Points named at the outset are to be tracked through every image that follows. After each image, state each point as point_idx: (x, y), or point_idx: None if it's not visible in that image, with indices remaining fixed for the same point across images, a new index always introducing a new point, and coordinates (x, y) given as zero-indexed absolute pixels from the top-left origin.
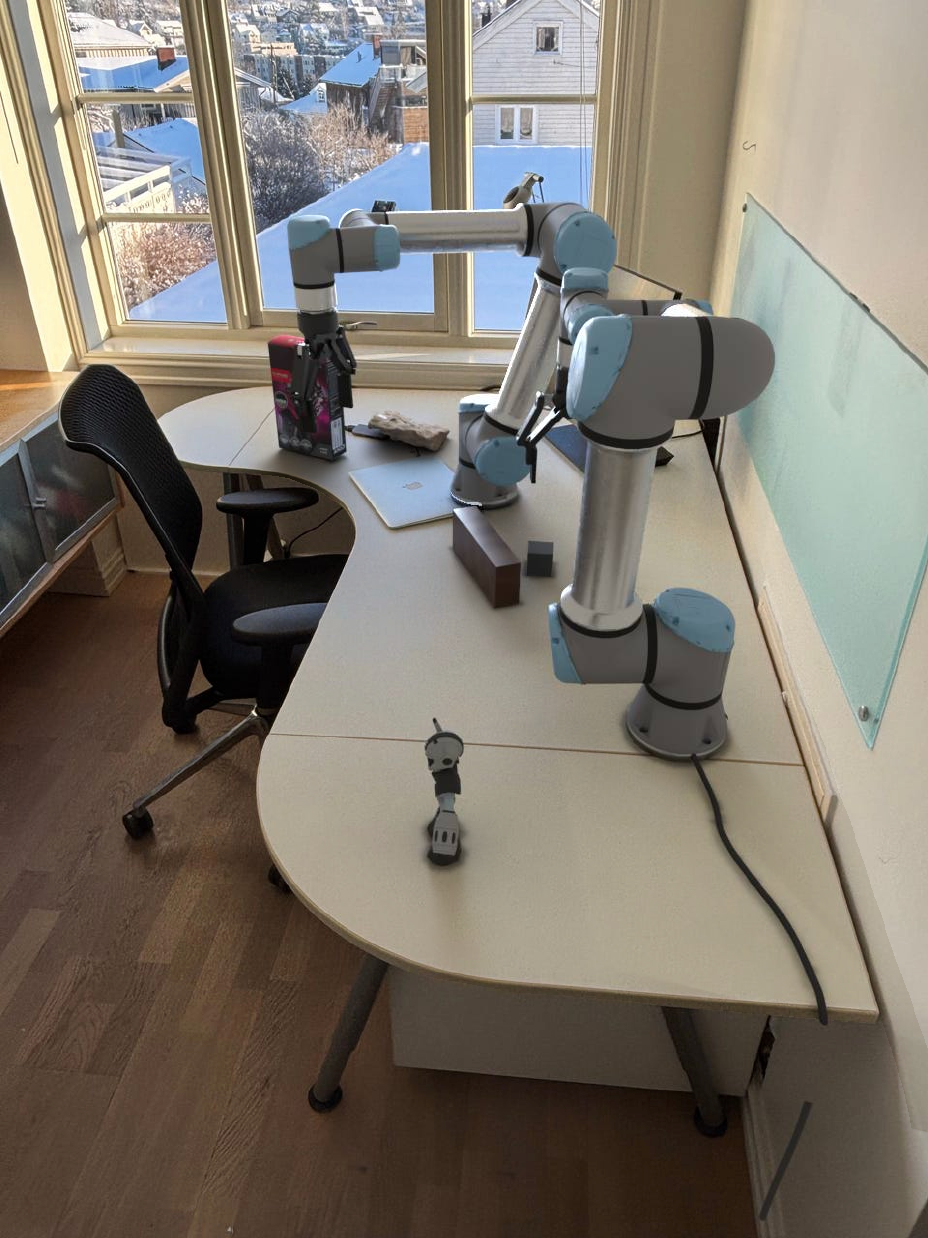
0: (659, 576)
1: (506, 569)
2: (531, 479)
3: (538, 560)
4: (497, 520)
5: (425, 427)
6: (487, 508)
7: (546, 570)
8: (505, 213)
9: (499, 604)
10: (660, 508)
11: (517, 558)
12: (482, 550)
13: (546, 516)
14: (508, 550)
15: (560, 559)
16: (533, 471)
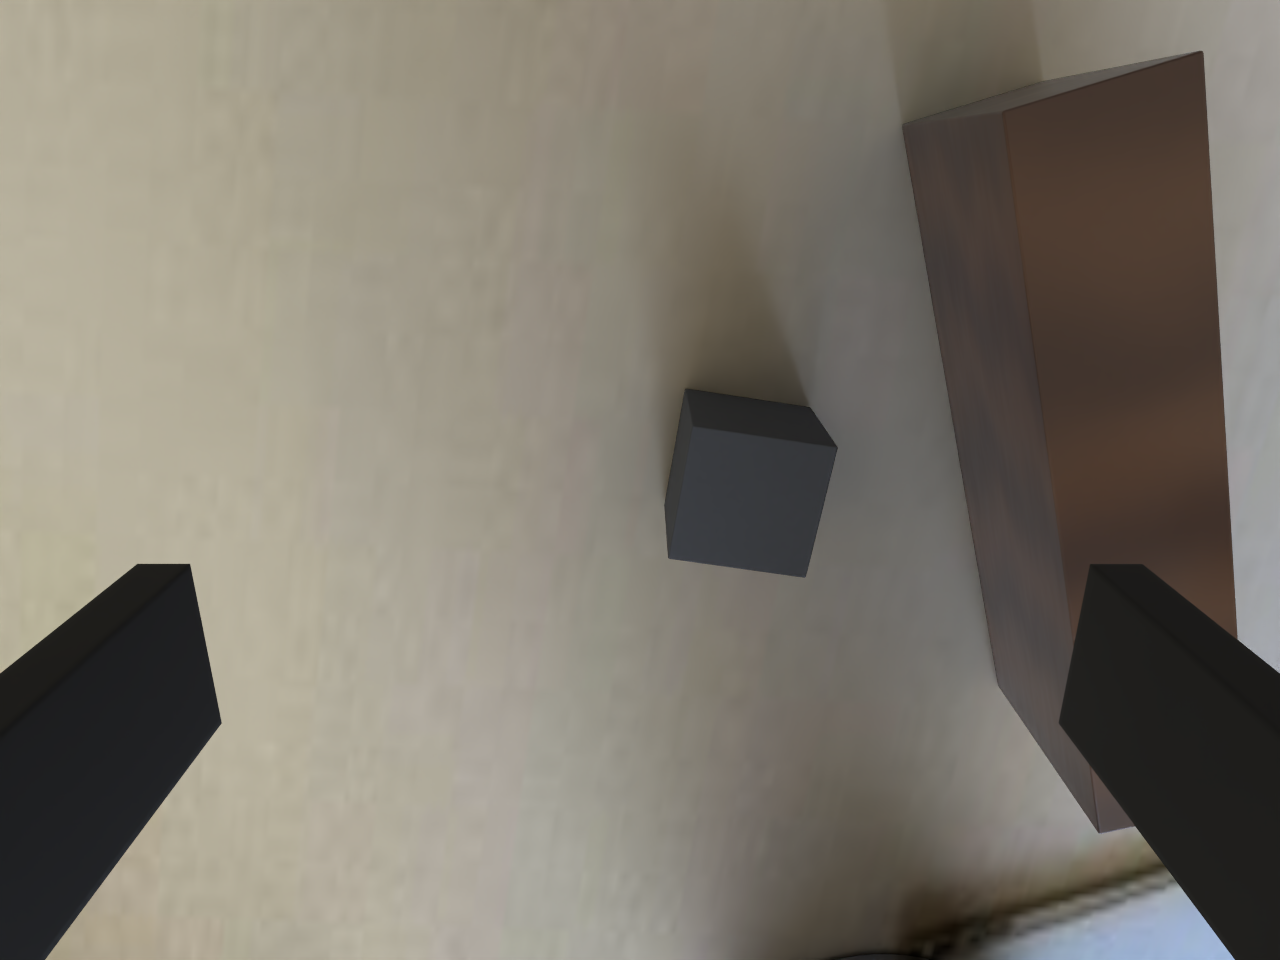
0: (133, 365)
1: (1100, 78)
2: (1168, 597)
3: (767, 423)
4: (851, 870)
5: None
6: (879, 954)
7: (715, 400)
8: None
9: (1025, 87)
10: (108, 933)
11: (1016, 172)
12: (1212, 317)
13: (626, 892)
14: (1050, 289)
15: (616, 543)
16: (1227, 653)
